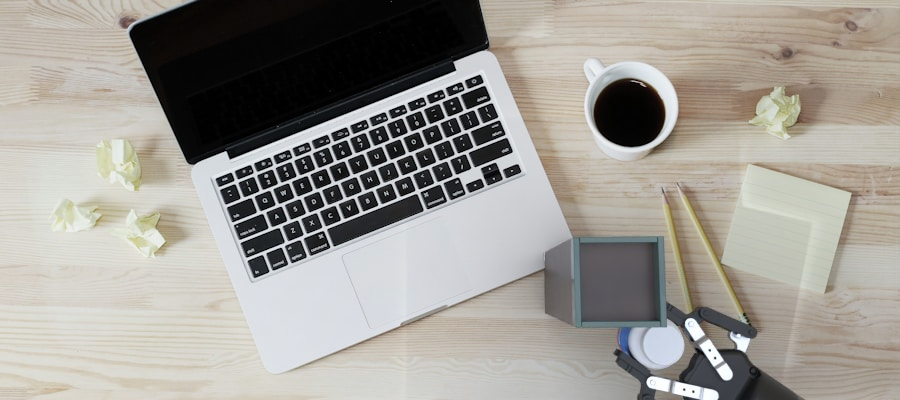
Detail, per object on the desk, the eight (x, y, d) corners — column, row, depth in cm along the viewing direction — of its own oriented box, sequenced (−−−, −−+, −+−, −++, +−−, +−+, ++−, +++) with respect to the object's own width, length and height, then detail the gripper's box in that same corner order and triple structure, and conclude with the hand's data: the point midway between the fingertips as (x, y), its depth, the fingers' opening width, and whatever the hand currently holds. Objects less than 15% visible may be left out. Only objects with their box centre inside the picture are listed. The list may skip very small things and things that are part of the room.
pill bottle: (611, 356, 81) (628, 364, 71) (621, 308, 82) (640, 310, 72) (660, 368, 81) (685, 379, 71) (671, 320, 81) (696, 323, 72)
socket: (661, 325, 60) (667, 327, 58) (572, 326, 61) (575, 327, 59) (658, 237, 61) (663, 236, 59) (570, 238, 61) (573, 236, 59)
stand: (606, 313, 87) (661, 325, 60) (544, 313, 87) (572, 326, 61) (604, 251, 88) (658, 237, 61) (543, 252, 88) (570, 238, 61)
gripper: (831, 368, 71) (680, 267, 72) (750, 496, 69) (598, 390, 71) (798, 361, 78) (661, 269, 80) (724, 476, 77) (587, 381, 79)
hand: (632, 327), depth 75 cm, fingers closed on pill bottle, 5 cm apart
